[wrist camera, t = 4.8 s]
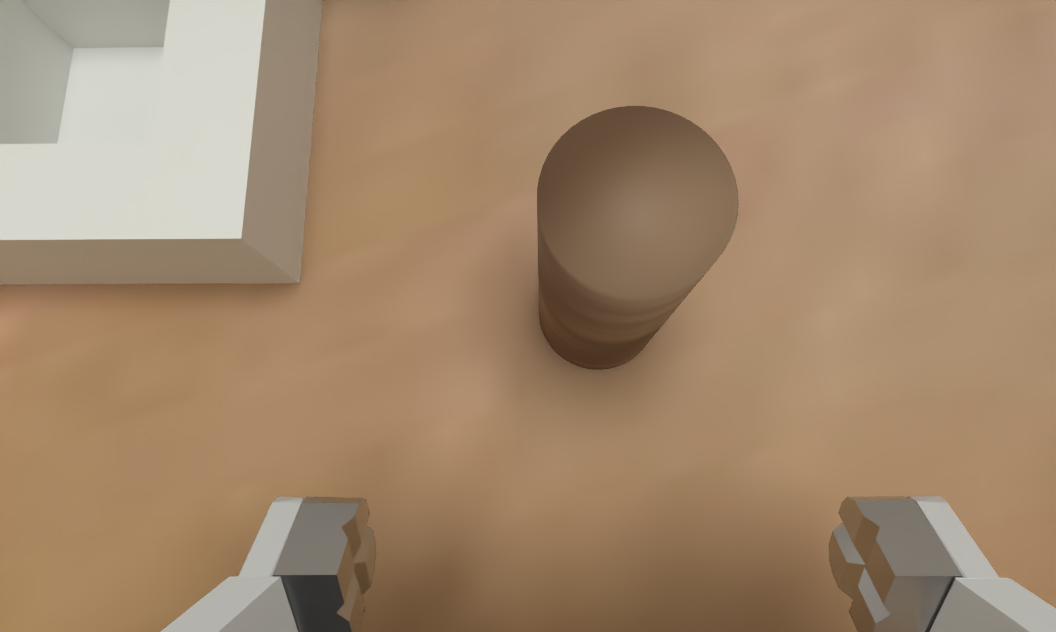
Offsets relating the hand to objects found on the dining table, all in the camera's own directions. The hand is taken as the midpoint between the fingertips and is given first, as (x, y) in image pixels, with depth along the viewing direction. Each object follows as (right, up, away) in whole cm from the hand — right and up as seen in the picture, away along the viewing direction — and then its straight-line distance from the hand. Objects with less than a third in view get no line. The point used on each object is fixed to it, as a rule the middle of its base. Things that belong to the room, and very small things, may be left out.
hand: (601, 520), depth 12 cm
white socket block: (-15, +10, +14) cm, 23 cm away
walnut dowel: (+1, +4, +12) cm, 12 cm away
